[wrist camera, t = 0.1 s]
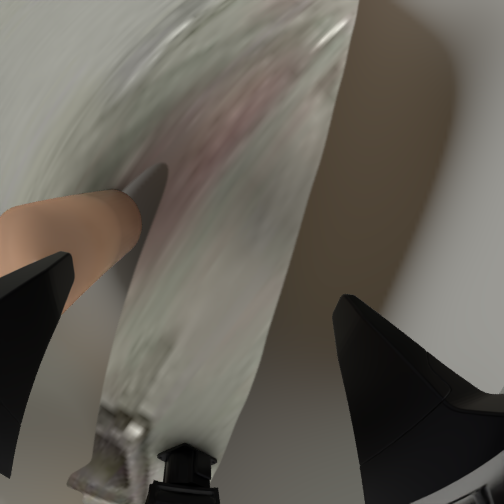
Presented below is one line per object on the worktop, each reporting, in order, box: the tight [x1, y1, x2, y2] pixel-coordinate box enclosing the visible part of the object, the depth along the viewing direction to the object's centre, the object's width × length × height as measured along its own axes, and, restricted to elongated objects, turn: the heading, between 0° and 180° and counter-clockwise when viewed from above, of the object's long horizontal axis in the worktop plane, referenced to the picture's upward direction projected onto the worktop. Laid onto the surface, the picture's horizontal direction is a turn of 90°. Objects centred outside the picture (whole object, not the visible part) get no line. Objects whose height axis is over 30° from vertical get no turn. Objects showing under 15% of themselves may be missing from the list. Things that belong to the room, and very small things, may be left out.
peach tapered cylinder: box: [0, 189, 142, 315], centre depth 16 cm, size 6×6×12 cm
